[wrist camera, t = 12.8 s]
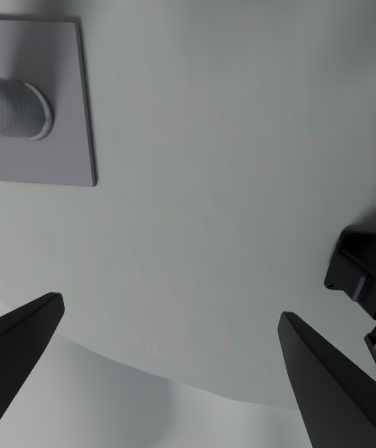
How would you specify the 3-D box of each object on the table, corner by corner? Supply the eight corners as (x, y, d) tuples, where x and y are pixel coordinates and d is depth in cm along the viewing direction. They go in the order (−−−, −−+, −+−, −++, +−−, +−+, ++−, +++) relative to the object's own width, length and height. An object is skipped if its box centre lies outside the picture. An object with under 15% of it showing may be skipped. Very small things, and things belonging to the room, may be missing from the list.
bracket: (79, 26, 16) (62, 11, 14) (95, 185, 20) (85, 190, 18) (-61, 21, 16) (-95, 6, 15) (-15, 178, 21) (-36, 182, 19)
